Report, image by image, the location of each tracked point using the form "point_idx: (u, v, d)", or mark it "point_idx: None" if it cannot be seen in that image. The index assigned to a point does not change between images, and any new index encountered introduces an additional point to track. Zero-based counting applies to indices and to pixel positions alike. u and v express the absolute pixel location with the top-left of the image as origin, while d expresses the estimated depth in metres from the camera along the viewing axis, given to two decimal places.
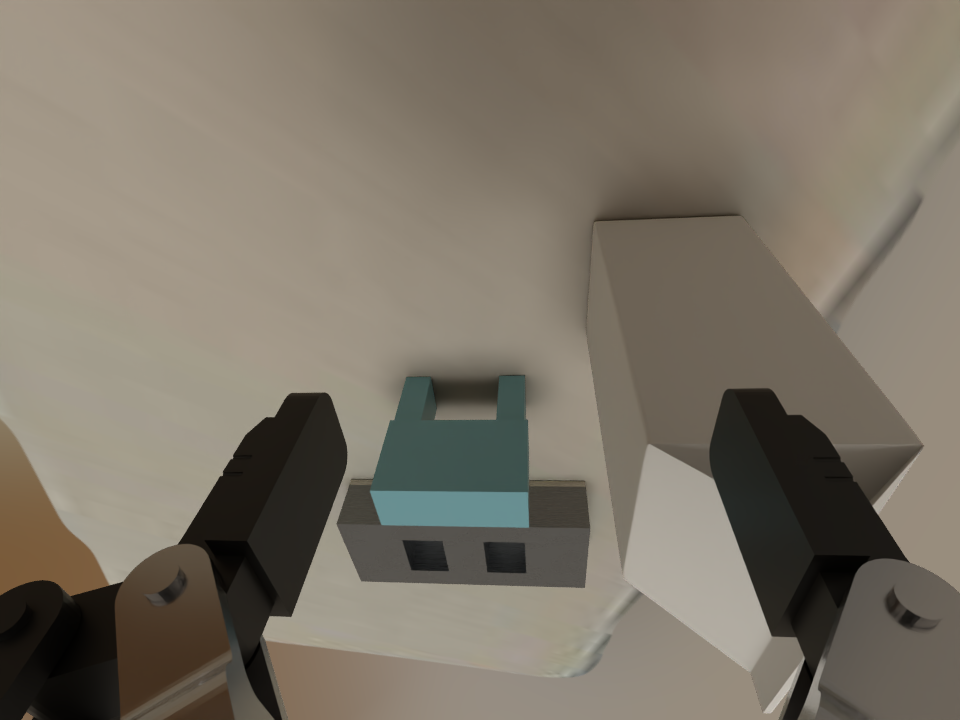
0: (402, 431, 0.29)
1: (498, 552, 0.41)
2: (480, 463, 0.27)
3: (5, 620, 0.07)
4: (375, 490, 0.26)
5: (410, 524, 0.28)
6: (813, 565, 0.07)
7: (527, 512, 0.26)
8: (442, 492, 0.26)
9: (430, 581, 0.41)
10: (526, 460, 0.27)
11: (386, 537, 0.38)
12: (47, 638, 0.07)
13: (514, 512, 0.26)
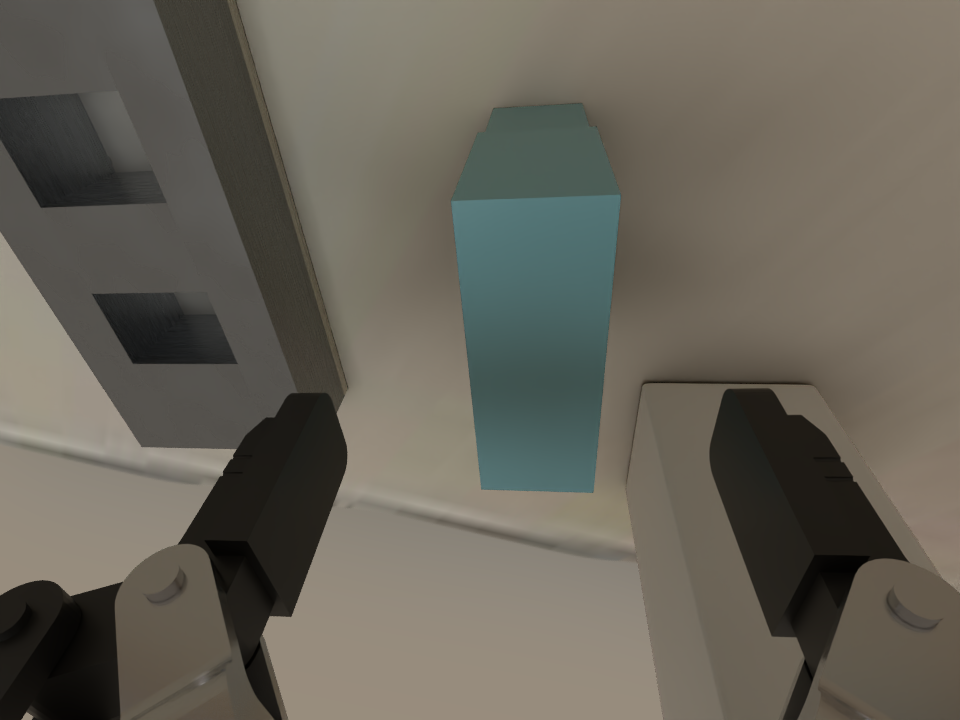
0: None
1: None
2: None
3: (4, 620, 0.07)
4: (614, 208, 0.09)
5: (464, 281, 0.10)
6: (813, 565, 0.07)
7: (530, 489, 0.14)
8: (601, 364, 0.11)
9: None
10: None
11: (106, 40, 0.13)
12: (47, 638, 0.07)
13: (529, 472, 0.14)
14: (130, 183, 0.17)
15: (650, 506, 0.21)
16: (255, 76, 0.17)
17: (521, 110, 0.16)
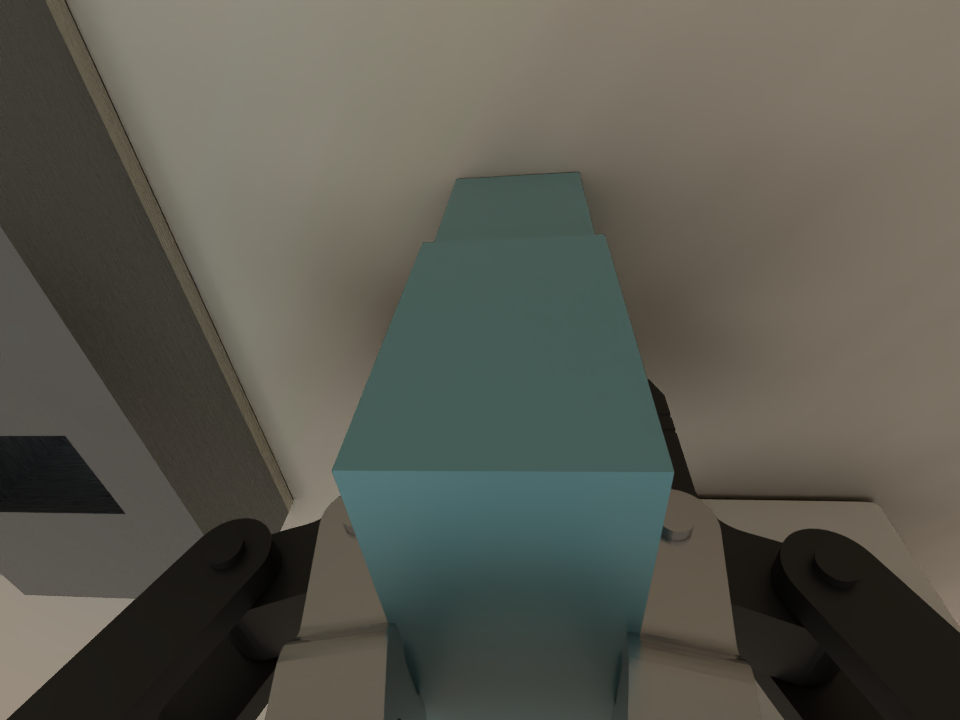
0: None
1: None
2: None
3: (225, 551, 0.07)
4: (659, 485, 0.05)
5: (378, 571, 0.06)
6: None
7: None
8: None
9: None
10: None
11: None
12: (265, 567, 0.07)
13: None
14: None
15: None
16: (124, 139, 0.12)
17: (494, 185, 0.11)
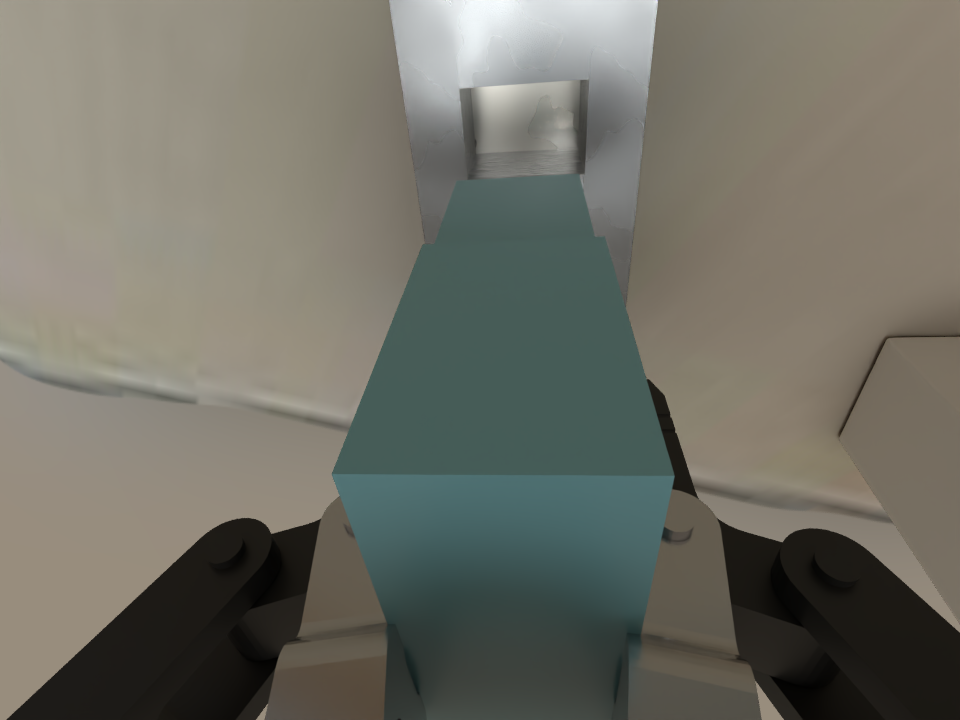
0: None
1: None
2: None
3: (225, 551, 0.07)
4: (659, 489, 0.05)
5: (378, 574, 0.06)
6: None
7: None
8: None
9: (416, 133, 0.18)
10: None
11: (600, 37, 0.16)
12: (265, 567, 0.07)
13: None
14: (511, 161, 0.20)
15: (914, 441, 0.24)
16: None
17: (494, 186, 0.11)
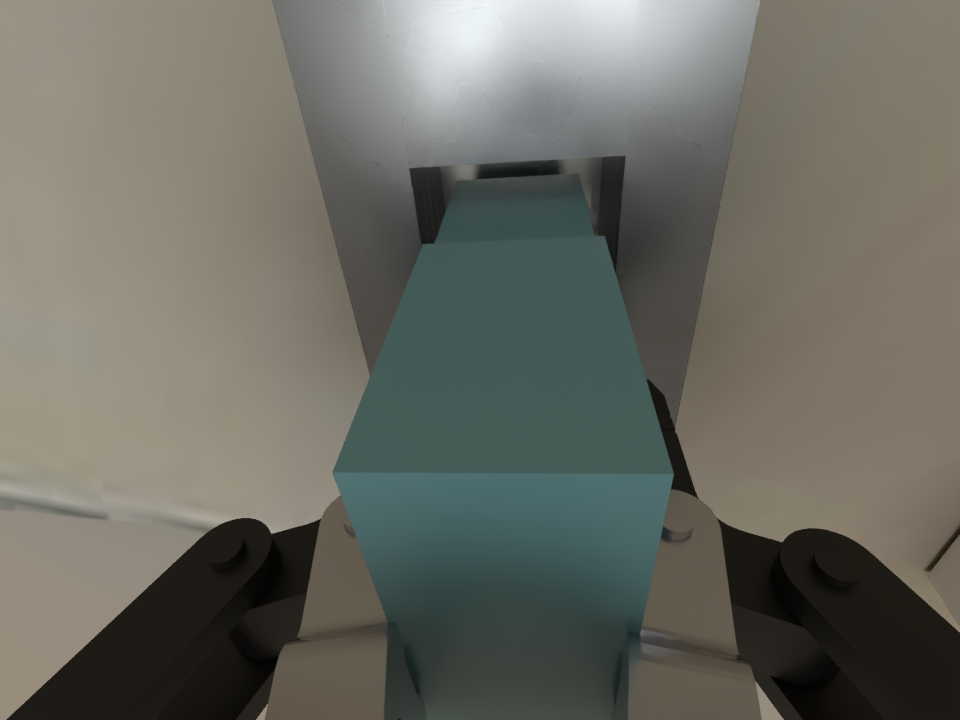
0: None
1: None
2: None
3: (225, 550, 0.07)
4: (658, 487, 0.05)
5: (378, 572, 0.06)
6: None
7: None
8: None
9: (344, 233, 0.11)
10: None
11: (648, 89, 0.09)
12: (265, 567, 0.07)
13: None
14: None
15: None
16: None
17: (494, 186, 0.11)
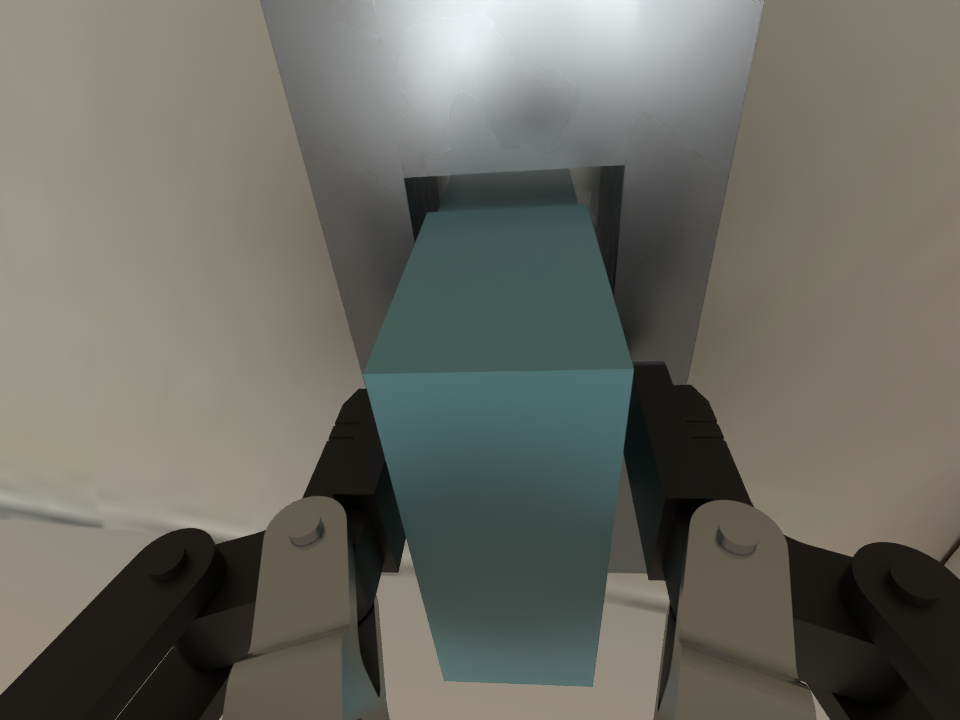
0: None
1: None
2: None
3: (165, 561, 0.07)
4: (623, 383, 0.06)
5: (396, 470, 0.07)
6: (668, 509, 0.08)
7: (509, 682, 0.10)
8: (603, 564, 0.08)
9: (338, 243, 0.11)
10: None
11: (647, 97, 0.09)
12: (206, 578, 0.07)
13: (507, 667, 0.10)
14: None
15: None
16: None
17: None
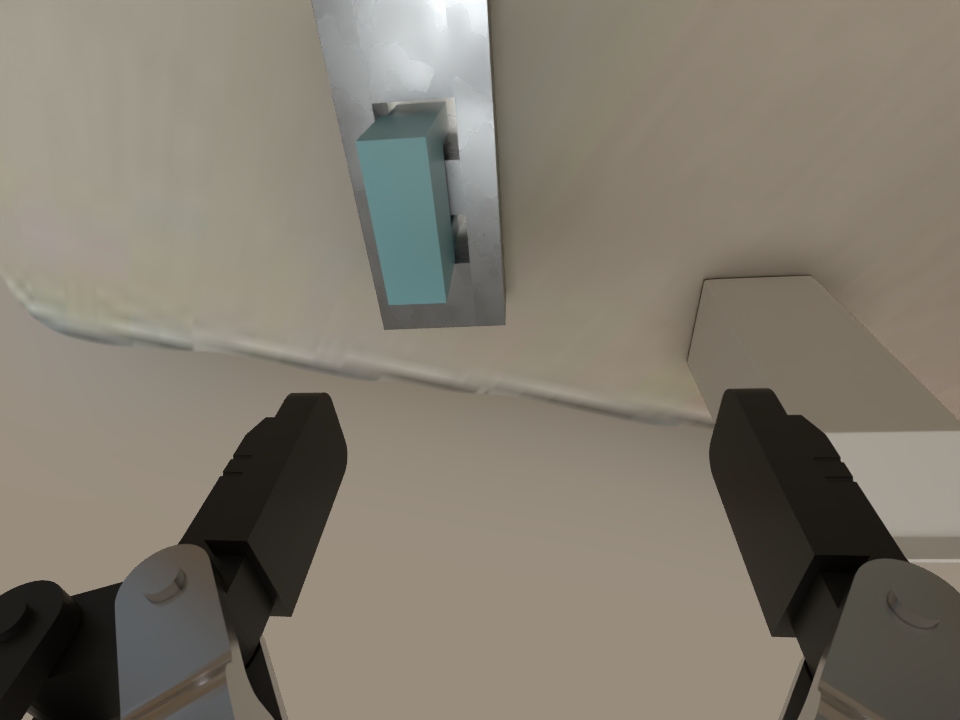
0: (439, 135, 0.25)
1: None
2: (444, 242, 0.26)
3: (4, 620, 0.07)
4: (424, 143, 0.22)
5: (365, 180, 0.23)
6: (813, 565, 0.07)
7: (414, 303, 0.26)
8: (434, 222, 0.24)
9: (345, 133, 0.27)
10: (449, 283, 0.28)
11: (457, 71, 0.25)
12: (48, 638, 0.07)
13: (411, 291, 0.26)
14: None
15: (716, 350, 0.33)
16: (494, 88, 0.29)
17: (410, 105, 0.29)
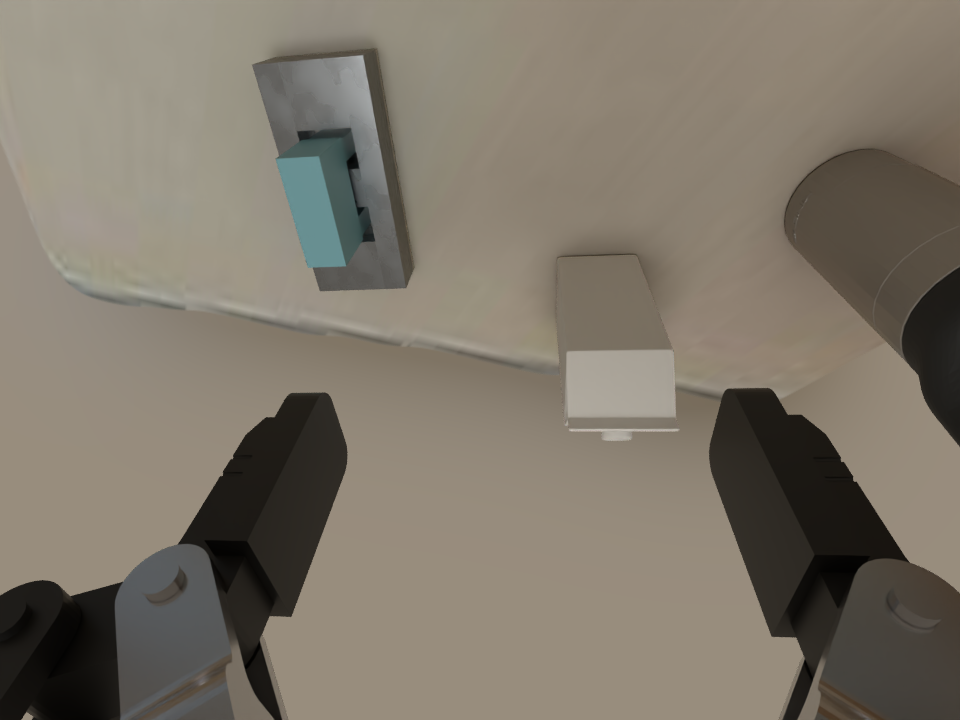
0: (340, 153, 0.38)
1: None
2: (345, 225, 0.39)
3: (4, 620, 0.07)
4: (319, 160, 0.34)
5: (284, 183, 0.35)
6: (813, 565, 0.07)
7: (324, 266, 0.39)
8: (331, 211, 0.36)
9: (281, 150, 0.40)
10: (353, 253, 0.40)
11: (351, 110, 0.37)
12: (48, 638, 0.07)
13: (322, 258, 0.39)
14: None
15: None
16: (388, 118, 0.41)
17: (329, 130, 0.41)
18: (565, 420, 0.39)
